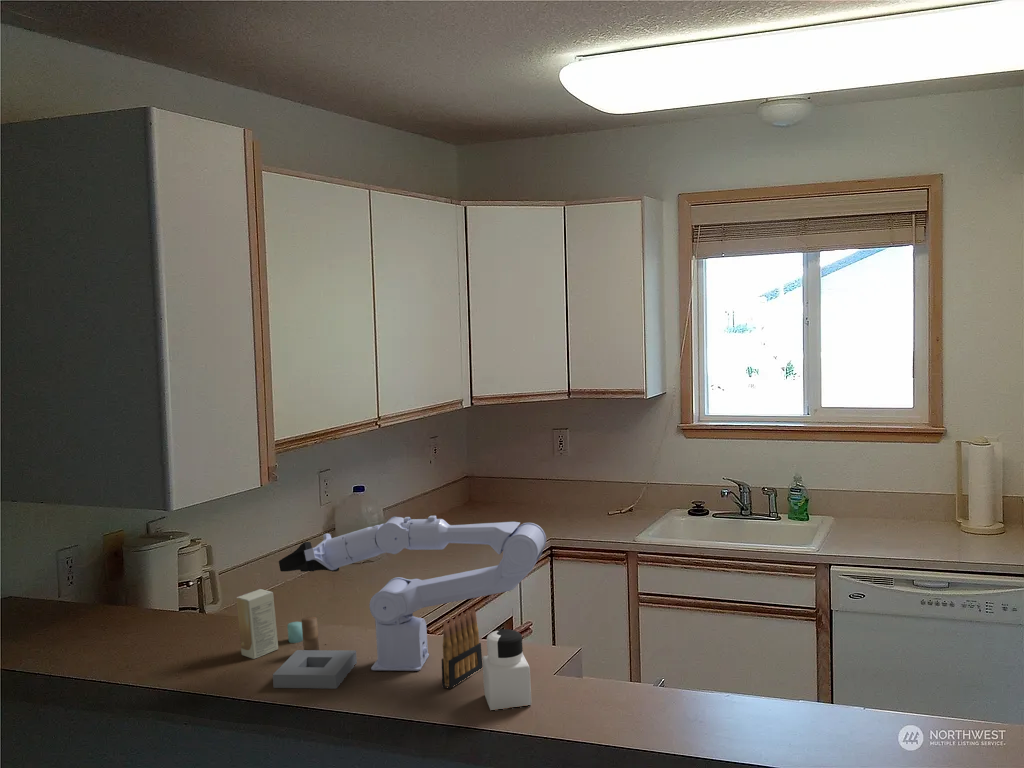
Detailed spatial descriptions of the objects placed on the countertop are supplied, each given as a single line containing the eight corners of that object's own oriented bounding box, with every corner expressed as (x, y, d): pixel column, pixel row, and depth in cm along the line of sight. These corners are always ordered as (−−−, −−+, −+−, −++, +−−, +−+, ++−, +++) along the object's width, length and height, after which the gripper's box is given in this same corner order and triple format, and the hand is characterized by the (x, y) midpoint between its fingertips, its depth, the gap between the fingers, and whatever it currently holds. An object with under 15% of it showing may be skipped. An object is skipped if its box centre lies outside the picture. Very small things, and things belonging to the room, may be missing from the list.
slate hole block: (356, 663, 184) (355, 650, 184) (336, 688, 173) (335, 675, 172) (297, 662, 186) (296, 650, 186) (273, 687, 174) (272, 674, 174)
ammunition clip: (474, 667, 180) (471, 605, 179) (483, 669, 179) (479, 606, 178) (442, 687, 170) (438, 621, 170) (450, 689, 169) (447, 622, 169)
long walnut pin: (321, 650, 192) (318, 616, 192) (316, 655, 189) (313, 621, 189) (307, 650, 193) (304, 616, 192) (301, 655, 190) (299, 621, 189)
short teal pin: (305, 637, 200) (304, 621, 200) (300, 643, 197) (299, 626, 197) (291, 637, 200) (290, 621, 200) (286, 642, 197) (285, 626, 197)
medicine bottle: (524, 689, 168) (520, 623, 167) (532, 706, 161) (528, 637, 160) (484, 694, 167) (480, 628, 166) (490, 711, 160) (486, 642, 159)
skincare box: (266, 645, 196) (261, 587, 195) (279, 649, 194) (274, 591, 193) (239, 655, 192) (234, 596, 190) (252, 660, 189) (247, 599, 188)
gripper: (364, 529, 190) (305, 547, 194) (330, 525, 177) (267, 545, 180) (371, 563, 189) (311, 581, 192) (338, 562, 175) (274, 582, 178)
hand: (290, 566), depth 186 cm, fingers open, 7 cm apart
